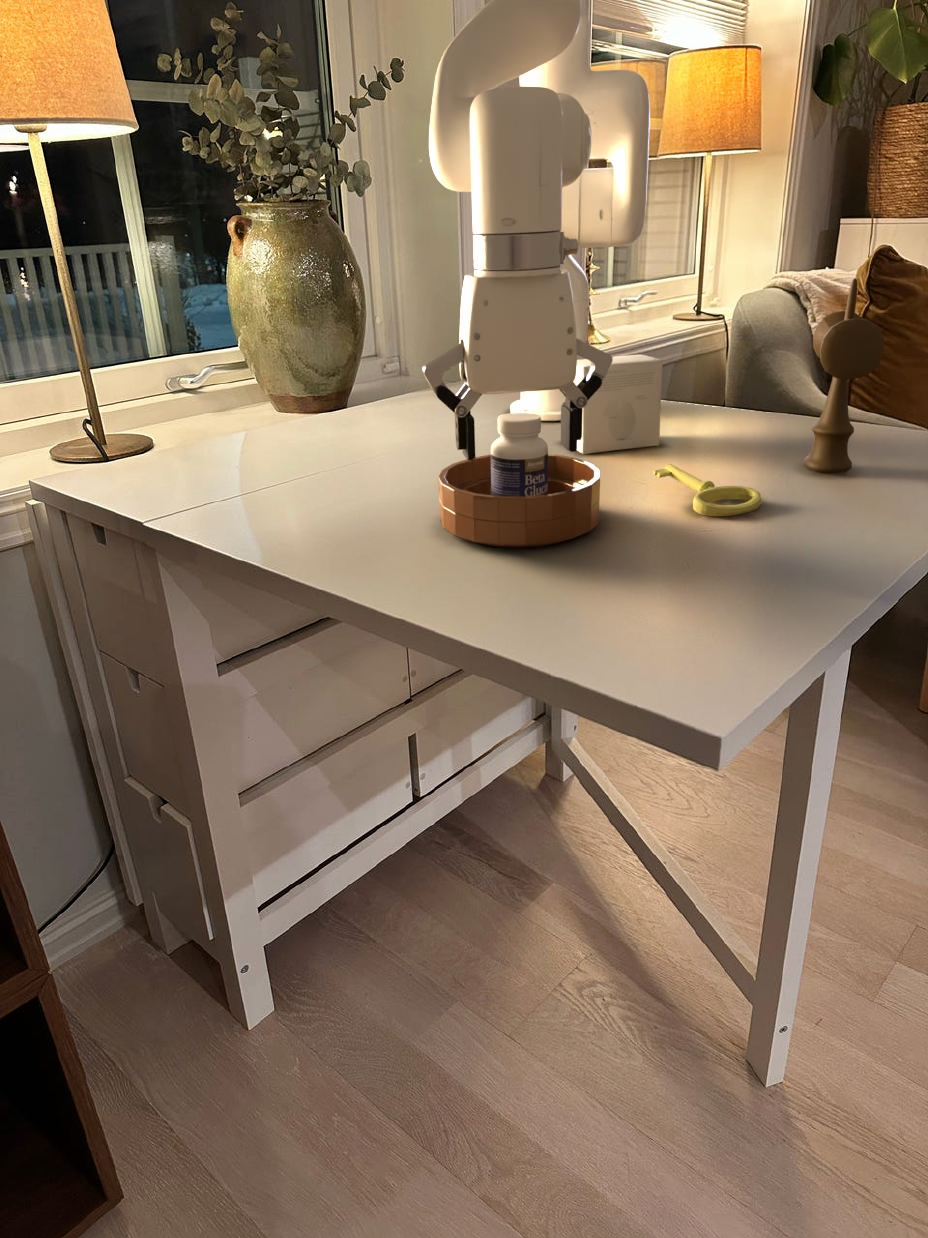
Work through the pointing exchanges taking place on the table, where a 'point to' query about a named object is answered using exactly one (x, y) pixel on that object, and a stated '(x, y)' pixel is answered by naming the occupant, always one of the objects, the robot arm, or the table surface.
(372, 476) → the table surface
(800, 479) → the table surface
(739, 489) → the key
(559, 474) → the bowl
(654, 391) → the cosmetics box
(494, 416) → the table surface
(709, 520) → the table surface
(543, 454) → the pill bottle
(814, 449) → the kendama
